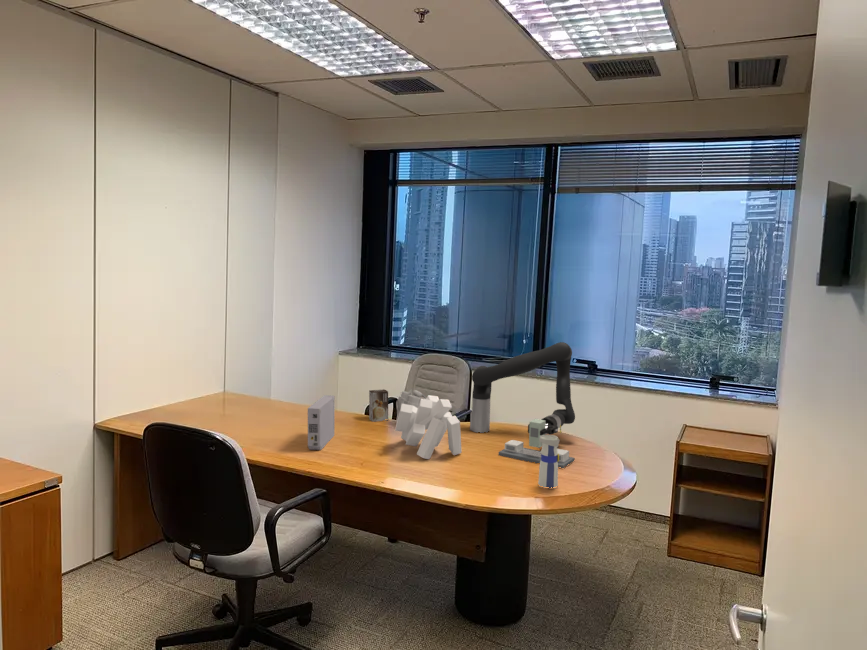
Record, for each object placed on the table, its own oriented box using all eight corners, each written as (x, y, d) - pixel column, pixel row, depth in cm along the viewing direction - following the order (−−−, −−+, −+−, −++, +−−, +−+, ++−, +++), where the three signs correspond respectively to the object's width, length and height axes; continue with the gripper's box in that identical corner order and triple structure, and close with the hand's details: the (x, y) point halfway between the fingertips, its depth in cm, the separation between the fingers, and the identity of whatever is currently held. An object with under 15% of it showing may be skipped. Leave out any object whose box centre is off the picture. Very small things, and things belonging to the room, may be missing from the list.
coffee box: (384, 417, 348) (385, 389, 346) (388, 420, 342) (388, 391, 340) (368, 419, 344) (369, 390, 342) (372, 421, 338) (372, 392, 337)
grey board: (498, 455, 285) (498, 452, 285) (511, 448, 296) (511, 445, 296) (563, 469, 268) (563, 465, 268) (574, 461, 279) (574, 457, 279)
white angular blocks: (376, 460, 292) (378, 403, 272) (409, 423, 314) (413, 367, 294) (441, 492, 279) (448, 435, 259) (472, 451, 301) (480, 396, 281)
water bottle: (556, 481, 253) (558, 420, 251) (561, 489, 245) (563, 426, 242) (535, 481, 253) (537, 420, 250) (540, 489, 245) (542, 426, 242)
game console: (335, 435, 313) (335, 395, 311) (320, 451, 286) (320, 408, 284) (324, 434, 313) (324, 395, 311) (307, 451, 286) (307, 408, 284)
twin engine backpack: (434, 434, 328) (443, 397, 328) (402, 429, 320) (411, 391, 320) (420, 426, 344) (429, 390, 344) (389, 421, 336) (398, 384, 336)
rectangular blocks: (504, 449, 286) (504, 443, 286) (511, 446, 293) (511, 439, 292) (562, 461, 271) (562, 455, 271) (568, 457, 277) (569, 450, 277)
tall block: (528, 445, 280) (529, 421, 279) (534, 442, 285) (535, 418, 284) (539, 447, 278) (539, 423, 276) (544, 444, 283) (545, 420, 281)
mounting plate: (503, 450, 287) (503, 449, 287) (510, 447, 293) (510, 445, 293) (563, 463, 271) (563, 461, 271) (569, 459, 277) (570, 457, 277)
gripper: (536, 413, 296) (520, 421, 282) (565, 418, 288) (550, 426, 274) (535, 429, 297) (519, 437, 283) (564, 434, 289) (549, 443, 275)
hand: (534, 432), depth 279 cm, fingers closed on tall block, 5 cm apart
